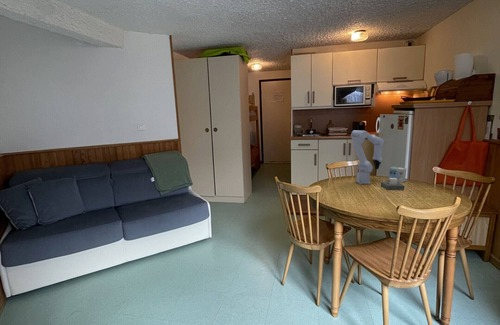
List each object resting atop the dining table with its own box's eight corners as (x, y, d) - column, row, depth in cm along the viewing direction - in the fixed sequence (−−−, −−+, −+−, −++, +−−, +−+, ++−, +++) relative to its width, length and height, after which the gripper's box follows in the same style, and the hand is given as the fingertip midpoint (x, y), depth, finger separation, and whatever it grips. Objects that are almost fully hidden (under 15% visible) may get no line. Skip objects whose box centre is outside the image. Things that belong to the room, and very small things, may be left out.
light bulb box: (388, 180, 223) (389, 167, 221) (391, 178, 227) (392, 166, 225) (402, 182, 215) (403, 169, 213) (405, 181, 219) (406, 168, 217)
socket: (387, 189, 196) (387, 185, 196) (380, 185, 207) (381, 182, 206) (404, 189, 195) (404, 185, 195) (397, 185, 206) (397, 181, 206)
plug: (387, 187, 200) (388, 179, 199) (385, 185, 203) (386, 178, 202) (396, 187, 199) (397, 179, 198) (394, 185, 203) (395, 178, 202)
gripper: (386, 154, 212) (385, 170, 215) (379, 151, 227) (378, 167, 229) (377, 154, 213) (376, 170, 215) (370, 151, 227) (369, 167, 230)
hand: (376, 169), depth 222 cm, fingers closed
